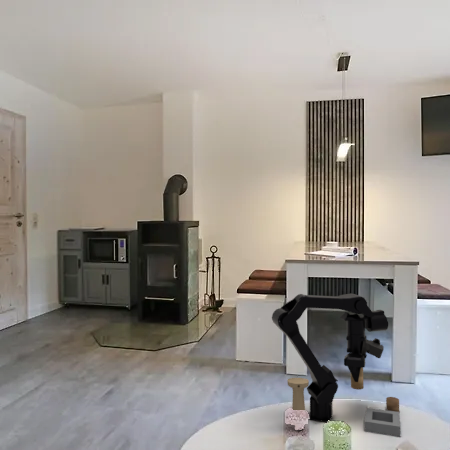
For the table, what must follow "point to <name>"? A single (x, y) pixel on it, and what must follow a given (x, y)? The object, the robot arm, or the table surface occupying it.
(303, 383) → the handle
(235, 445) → the table surface
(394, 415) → the block
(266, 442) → the table surface
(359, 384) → the long peg
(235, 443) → the table surface
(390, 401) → the short peg
